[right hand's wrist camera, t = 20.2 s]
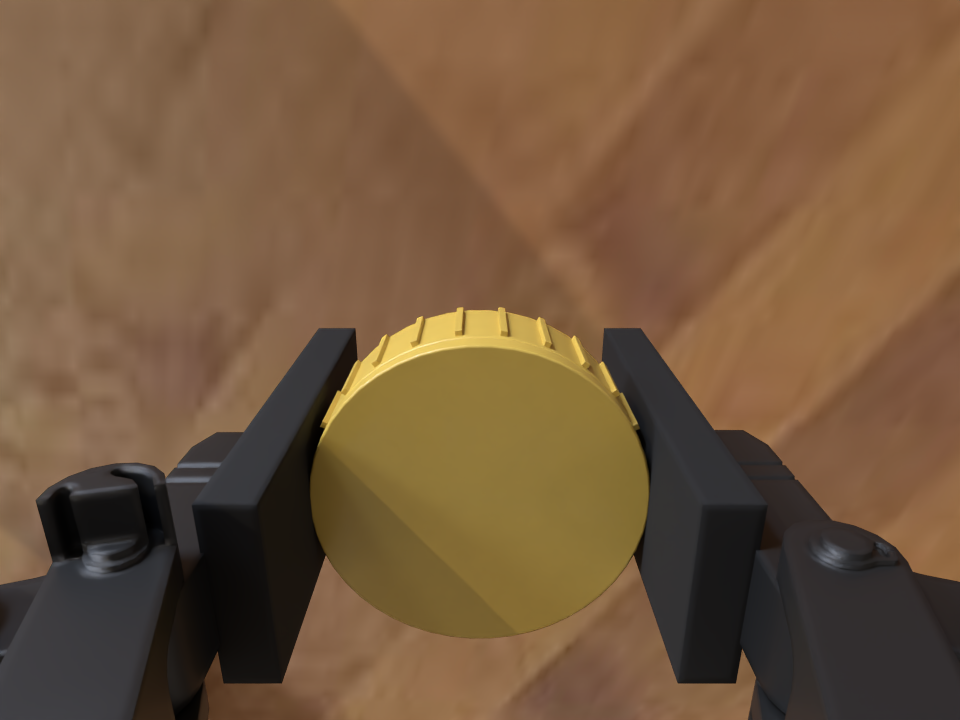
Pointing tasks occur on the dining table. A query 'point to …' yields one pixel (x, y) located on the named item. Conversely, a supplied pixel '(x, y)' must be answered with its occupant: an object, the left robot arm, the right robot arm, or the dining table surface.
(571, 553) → the lid
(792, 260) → the dining table surface
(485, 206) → the dining table surface
